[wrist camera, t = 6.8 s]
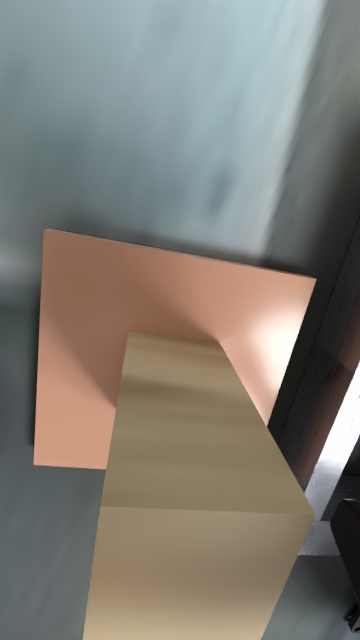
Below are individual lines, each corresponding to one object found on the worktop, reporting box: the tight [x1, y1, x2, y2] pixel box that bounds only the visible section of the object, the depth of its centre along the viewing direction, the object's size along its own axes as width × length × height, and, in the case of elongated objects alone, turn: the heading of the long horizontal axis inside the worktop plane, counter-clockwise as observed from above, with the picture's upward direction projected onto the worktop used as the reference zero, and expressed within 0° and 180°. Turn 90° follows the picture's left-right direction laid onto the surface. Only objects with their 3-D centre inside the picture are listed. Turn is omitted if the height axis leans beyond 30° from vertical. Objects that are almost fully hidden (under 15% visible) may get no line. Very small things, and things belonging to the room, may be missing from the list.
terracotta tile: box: [34, 229, 316, 469], centre depth 14 cm, size 11×11×1 cm
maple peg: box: [83, 331, 316, 640], centre depth 10 cm, size 4×4×8 cm
